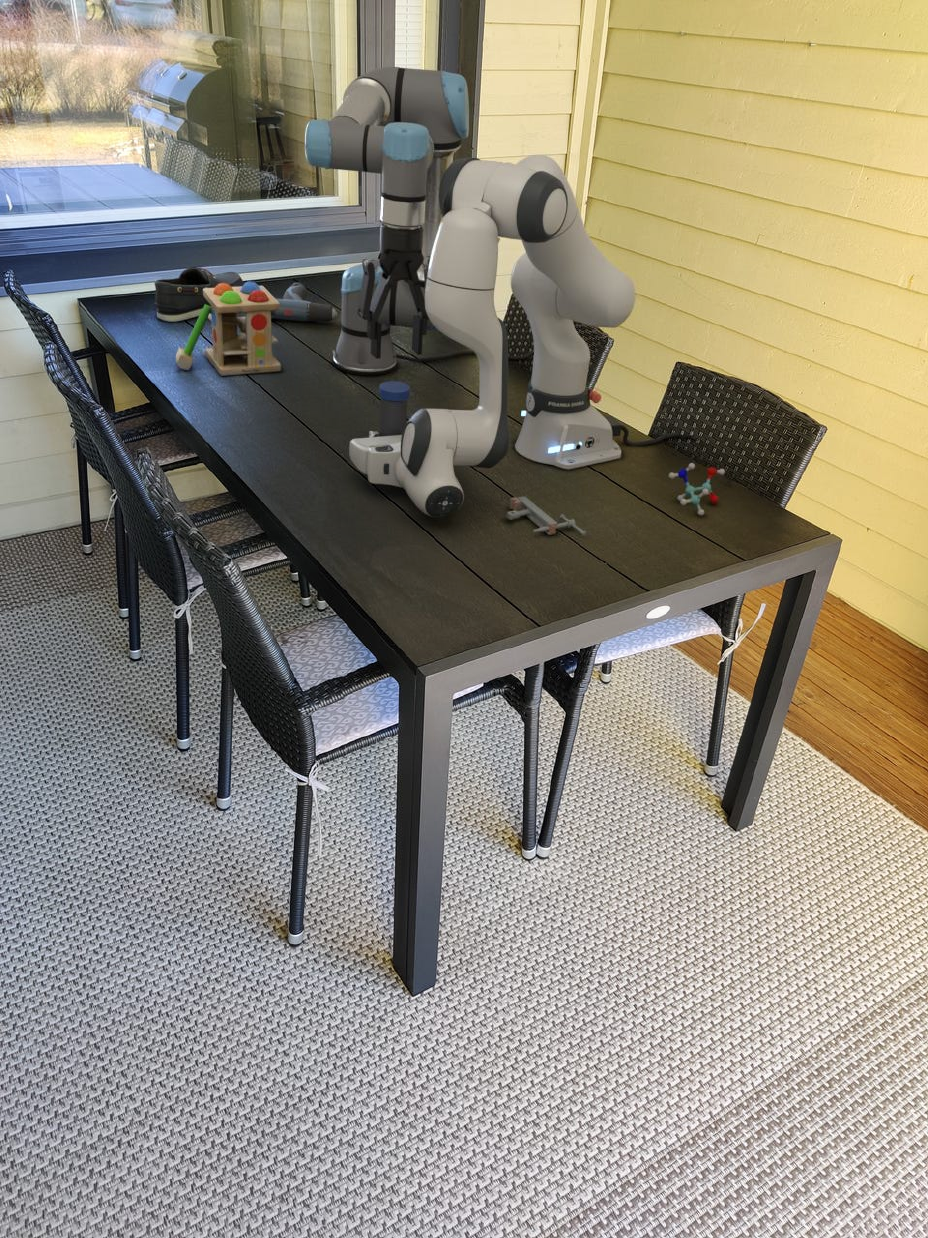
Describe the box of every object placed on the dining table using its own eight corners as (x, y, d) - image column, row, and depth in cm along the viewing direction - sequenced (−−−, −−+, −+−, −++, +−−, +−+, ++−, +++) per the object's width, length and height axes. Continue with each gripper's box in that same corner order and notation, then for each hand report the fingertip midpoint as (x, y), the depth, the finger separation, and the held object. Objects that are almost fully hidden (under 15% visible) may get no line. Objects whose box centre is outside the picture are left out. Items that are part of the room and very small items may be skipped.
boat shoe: (262, 300, 274) (260, 262, 268) (174, 323, 250) (170, 282, 245) (229, 292, 279) (226, 254, 274) (139, 314, 256) (134, 273, 250)
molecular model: (729, 509, 182) (714, 457, 180) (679, 523, 185) (663, 472, 184) (733, 500, 192) (719, 451, 191) (686, 514, 196) (671, 466, 194)
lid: (391, 403, 182) (391, 394, 181) (373, 393, 185) (373, 384, 184) (415, 397, 185) (416, 388, 184) (397, 387, 189) (397, 379, 188)
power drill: (344, 304, 276) (335, 327, 259) (277, 298, 275) (264, 321, 258) (344, 285, 273) (335, 306, 256) (277, 279, 272) (264, 300, 255)
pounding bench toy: (183, 379, 220) (176, 299, 210) (169, 357, 231) (162, 280, 221) (282, 371, 230) (280, 294, 220) (264, 350, 240) (262, 276, 230)
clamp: (496, 500, 180) (542, 491, 184) (495, 510, 181) (540, 501, 185) (542, 538, 169) (588, 528, 174) (540, 549, 170) (586, 539, 175)
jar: (388, 473, 191) (392, 395, 182) (373, 463, 194) (375, 386, 185) (409, 467, 194) (413, 390, 185) (393, 457, 197) (397, 382, 188)
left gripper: (445, 217, 175) (436, 342, 188) (338, 220, 166) (336, 351, 179) (465, 227, 170) (454, 355, 183) (355, 231, 161) (352, 366, 174)
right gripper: (468, 442, 182) (442, 413, 192) (362, 452, 175) (341, 421, 185) (465, 473, 186) (440, 443, 196) (361, 484, 178) (341, 452, 189)
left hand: (396, 353), depth 181 cm, fingers open, 8 cm apart
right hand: (391, 432), depth 191 cm, fingers open, 6 cm apart
